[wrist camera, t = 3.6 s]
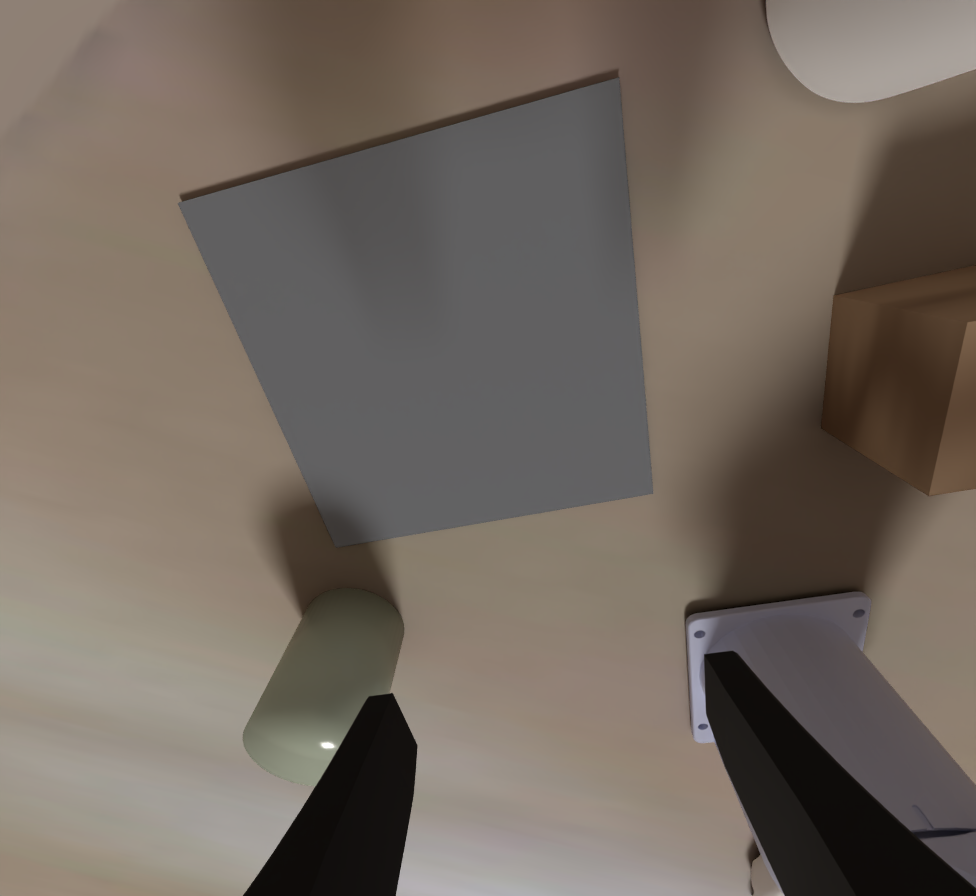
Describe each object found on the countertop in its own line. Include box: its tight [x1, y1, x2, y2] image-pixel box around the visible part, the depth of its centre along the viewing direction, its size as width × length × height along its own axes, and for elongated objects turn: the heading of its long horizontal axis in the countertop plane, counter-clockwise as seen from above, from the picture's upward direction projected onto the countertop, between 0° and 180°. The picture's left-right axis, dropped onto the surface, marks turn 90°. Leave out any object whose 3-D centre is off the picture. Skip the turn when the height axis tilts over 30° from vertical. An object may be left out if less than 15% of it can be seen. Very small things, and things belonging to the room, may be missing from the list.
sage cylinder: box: [243, 588, 404, 786], centre depth 20 cm, size 5×5×6 cm
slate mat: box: [178, 77, 653, 548], centre depth 17 cm, size 14×14×1 cm
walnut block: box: [821, 265, 976, 496], centre depth 14 cm, size 5×5×5 cm
